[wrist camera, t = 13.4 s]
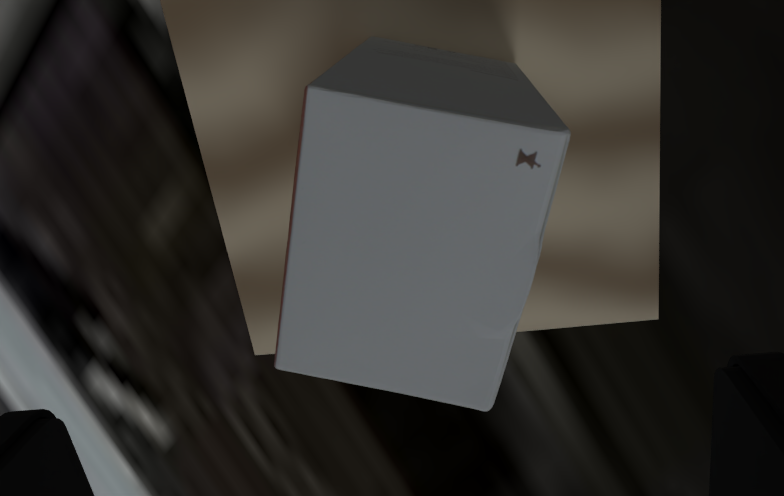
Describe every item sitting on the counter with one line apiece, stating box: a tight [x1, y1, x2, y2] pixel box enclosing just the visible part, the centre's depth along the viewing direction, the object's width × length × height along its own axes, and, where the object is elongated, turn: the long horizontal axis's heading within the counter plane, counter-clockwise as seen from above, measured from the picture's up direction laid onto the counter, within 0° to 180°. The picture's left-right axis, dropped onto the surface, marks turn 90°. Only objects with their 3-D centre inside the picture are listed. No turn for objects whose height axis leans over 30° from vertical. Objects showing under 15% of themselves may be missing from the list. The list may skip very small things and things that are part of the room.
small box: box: [274, 36, 571, 411], centre depth 22 cm, size 8×6×13 cm
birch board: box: [160, 0, 661, 355], centre depth 28 cm, size 20×20×2 cm
